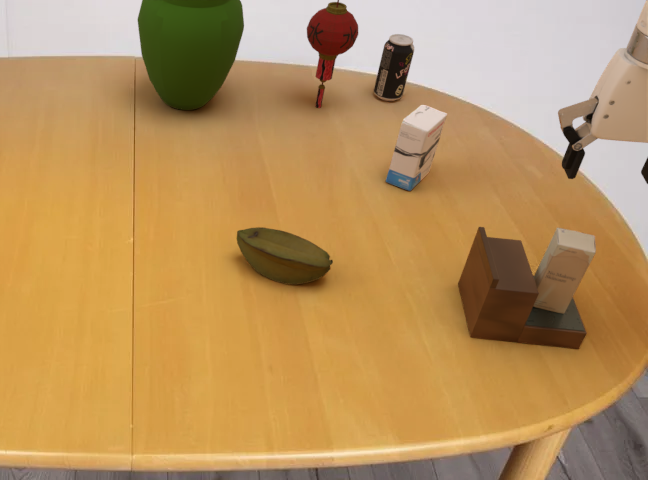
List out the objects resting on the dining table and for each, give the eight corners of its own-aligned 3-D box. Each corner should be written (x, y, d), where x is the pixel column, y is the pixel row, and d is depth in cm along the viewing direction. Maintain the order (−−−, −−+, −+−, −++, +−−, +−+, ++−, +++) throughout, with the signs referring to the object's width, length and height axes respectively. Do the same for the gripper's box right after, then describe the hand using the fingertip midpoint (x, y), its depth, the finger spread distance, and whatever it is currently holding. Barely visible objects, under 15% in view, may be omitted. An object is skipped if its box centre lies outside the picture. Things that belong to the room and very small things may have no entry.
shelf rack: (559, 294, 131) (586, 237, 124) (578, 349, 122) (609, 290, 115) (457, 283, 132) (478, 226, 124) (470, 337, 123) (493, 278, 116)
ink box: (410, 192, 149) (428, 131, 141) (384, 182, 152) (400, 121, 144) (430, 172, 155) (449, 112, 147) (405, 162, 157) (421, 102, 149)
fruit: (266, 301, 127) (272, 266, 122) (230, 254, 135) (235, 218, 130) (334, 285, 130) (343, 250, 126) (295, 239, 138) (302, 204, 134)
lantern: (319, 90, 176) (348, -65, 155) (352, 110, 170) (387, -48, 150) (284, 102, 172) (309, -57, 151) (316, 123, 166) (347, -39, 146)
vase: (132, 123, 163) (136, -8, 146) (136, 75, 177) (141, -49, 161) (236, 129, 163) (252, -1, 146) (232, 80, 177) (247, -43, 161)
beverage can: (402, 92, 177) (417, 35, 168) (400, 105, 173) (415, 47, 164) (374, 87, 178) (388, 30, 170) (371, 100, 174) (384, 42, 166)
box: (527, 306, 123) (555, 243, 116) (527, 288, 127) (555, 225, 119) (566, 315, 122) (597, 252, 115) (565, 296, 125) (595, 233, 118)
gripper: (731, 38, 101) (668, 166, 113) (578, 28, 102) (531, 155, 114) (757, 67, 96) (688, 198, 107) (595, 56, 97) (544, 187, 109)
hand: (607, 176), depth 111 cm, fingers open, 9 cm apart
